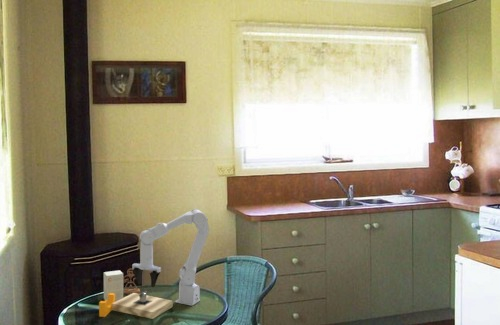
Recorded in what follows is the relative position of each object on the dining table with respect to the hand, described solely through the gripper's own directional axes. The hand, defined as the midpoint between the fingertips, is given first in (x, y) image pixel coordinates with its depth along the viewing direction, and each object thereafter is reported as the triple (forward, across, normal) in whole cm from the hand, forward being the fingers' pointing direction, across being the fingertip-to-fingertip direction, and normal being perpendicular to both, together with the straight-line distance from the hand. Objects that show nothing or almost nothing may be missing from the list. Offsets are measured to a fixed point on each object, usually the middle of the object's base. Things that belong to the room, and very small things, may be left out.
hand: (146, 285), depth 237 cm
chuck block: (+9, +1, -4) cm, 10 cm away
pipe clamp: (+10, -12, -15) cm, 21 cm away
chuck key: (+9, +1, -4) cm, 10 cm away
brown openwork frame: (+10, -17, +11) cm, 22 cm away
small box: (+10, -18, -1) cm, 20 cm away
